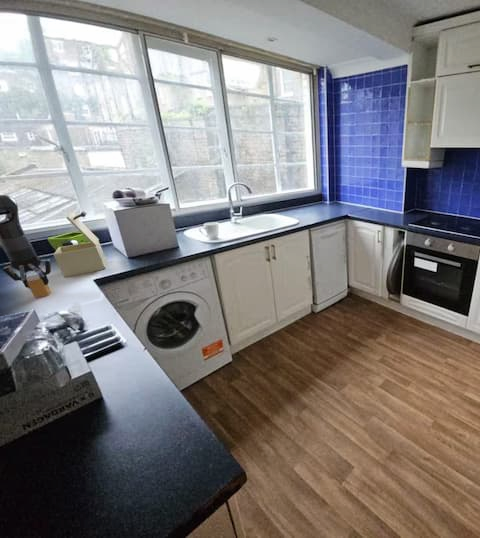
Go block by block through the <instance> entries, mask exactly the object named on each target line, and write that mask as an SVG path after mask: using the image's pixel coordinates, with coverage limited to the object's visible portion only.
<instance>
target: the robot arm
mask: <svg viewBox="0 0 480 538" xmlns="http://www.w3.org/2000/svg"><path fill="white" fill-rule="evenodd" d="M4 215H5V217H4V219H2V220H0V246H1V248H2V250H3V251H4V253H5V254H6V257H7V258H8V260H9V262H10V265H8V266H4V267H3V268H2V272H4V273H5V274H6V275H7V276H9V278H11V279H12V280H13V281H15V282H17V281H20V282H22V283H23V285H24V287H25V288H28V289H30V288H29V286H28V284H27V279H26V278H27V277H28V274H27V273H29V272H35V274H39V275H40V276H41V279H42V281H43V282H44V284H45V285H48V286H49V283H50V280H49V278H48V275H50V274H51V273H52V262H51V259H50V258H47V259H41V258H40V257H39V256H38V255H37V253H36V251H35V249H34V246H33V245H32V243H31V241H30V238H28V236H27V235H26V234H25V231H24V229H23V227H22V225H21V222H20V221H21V220H20V217H19V216H20V215H19V207H18V203H17V201H16V200H15V199H14V198H13V197H12V196H9V195H7V194H0V216H4ZM41 263H42V265H43V266H44V267H45V271H44V270H43V269H42V267H41V266H40V265H41ZM14 270H17V271H19V275H18V274H17V273H16V272H15V271H14ZM30 290H31V289H30Z"/></svg>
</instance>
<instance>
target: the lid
mask: <svg viewBox="0 0 480 538" xmlns="http://www.w3.org/2000/svg"><path fill="white" fill-rule="evenodd" d="M86 216H87V212H86V211H81V213H80V214H77V215H76V214H75V213H73V212H70V213H68V215H67V216H66V218H65V219H67V220H68V221H69V223H70V224H71V225H72V226H74V227H75V228H76V229H77V230H78V232H81V233H82V234H83V235H84V236H85V237H86V238H87V239H88V240H89V241H90V242H91V243H92V244H93V245H94V246H97V243H98V241H99V240H100V239H99V238H98V237H97V235H95V234H94V233H93V232H92V231H91V230H90V229H89V228H88V226H86V224H84V222H82V220H81V219H79V218H86ZM99 242H100V241H99Z"/></svg>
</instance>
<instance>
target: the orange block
mask: <svg viewBox="0 0 480 538" xmlns="http://www.w3.org/2000/svg"><path fill="white" fill-rule="evenodd" d="M26 279H27V284H28V286H29V288H30V291H31V293H32V295H33V297H34V299H39V298H43V297H47V296H50V295H51V293H52V291H51V289H50V287H49V284H48V285H45V284H44V282H43V281H42V279H41V276H40V275H39V274H38V273H35V274H29V275H27V278H26ZM29 288H28V289H29Z"/></svg>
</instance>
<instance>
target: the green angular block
mask: <svg viewBox="0 0 480 538" xmlns="http://www.w3.org/2000/svg"><path fill="white" fill-rule="evenodd" d="M71 240H75V241H77V243H78V244H82V243H88V242H90V241H89V240H88V239H87V238H86V237H85V236H84V235H83V234H82V233H81V232H80V231H70V232H66V233H62V234H59V235H56V236H52V237H49V238H47V241H48V243H49V244H50V246H51V247H52V248H53V249H54V250H55V251H56V250H57V249H58V248H59V247H63V246H62V243H63V242H66V241H71Z"/></svg>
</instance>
